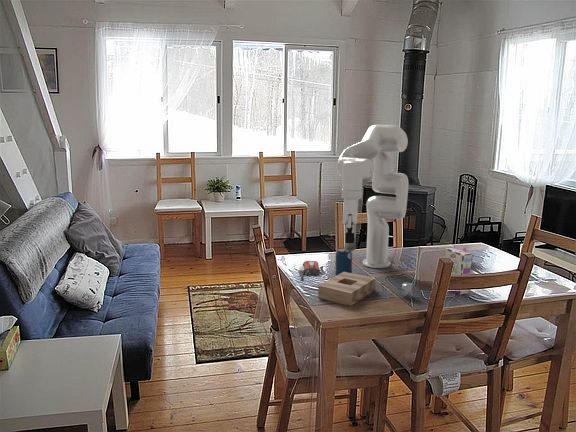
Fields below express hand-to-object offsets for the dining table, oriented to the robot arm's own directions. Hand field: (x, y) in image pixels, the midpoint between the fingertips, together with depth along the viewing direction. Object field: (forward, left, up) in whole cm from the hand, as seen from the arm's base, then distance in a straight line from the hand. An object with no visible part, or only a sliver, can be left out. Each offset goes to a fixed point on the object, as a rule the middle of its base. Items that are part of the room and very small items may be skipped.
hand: (350, 240), depth 200 cm
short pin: (-11, +20, -21) cm, 31 cm away
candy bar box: (-29, +33, -22) cm, 49 cm away
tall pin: (0, 0, -3) cm, 3 cm away
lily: (-65, +24, -22) cm, 73 cm away
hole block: (0, 0, -21) cm, 21 cm away
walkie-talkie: (-13, -26, -22) cm, 36 cm away
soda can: (-17, -11, -22) cm, 30 cm away
